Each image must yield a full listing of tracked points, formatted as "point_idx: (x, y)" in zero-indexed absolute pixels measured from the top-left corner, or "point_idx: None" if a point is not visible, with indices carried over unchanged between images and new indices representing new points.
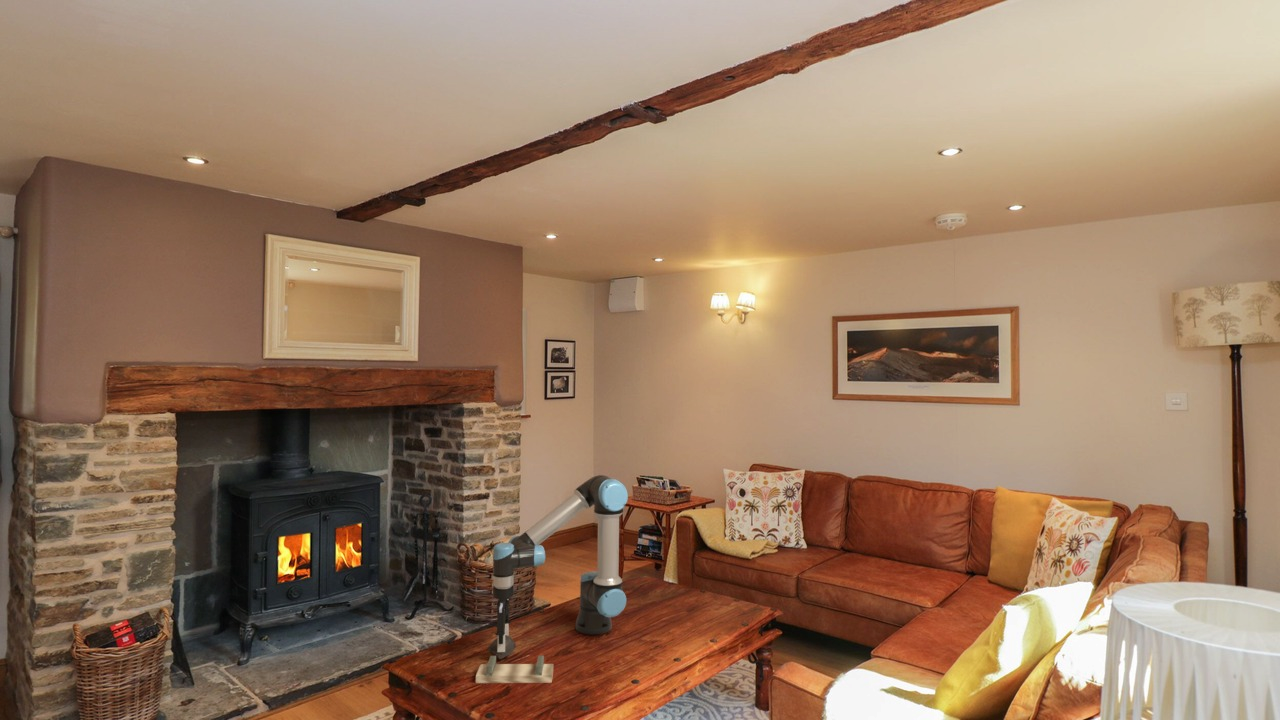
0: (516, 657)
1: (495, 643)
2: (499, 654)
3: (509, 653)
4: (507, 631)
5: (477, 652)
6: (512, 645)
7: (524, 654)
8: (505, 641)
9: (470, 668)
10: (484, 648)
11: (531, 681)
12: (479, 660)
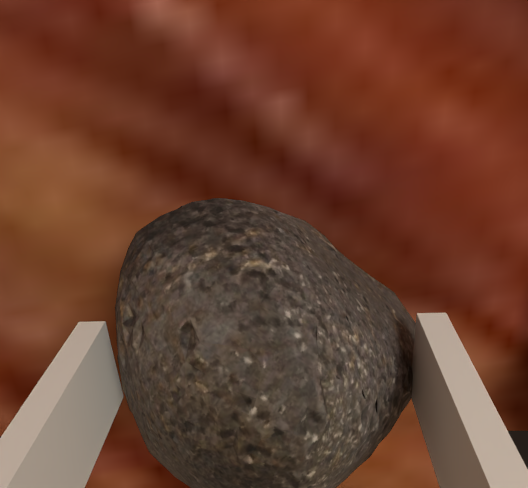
0: (239, 145)
1: (342, 481)
2: None
3: (323, 241)
4: (43, 441)
5: (169, 479)
6: (294, 252)
7: (147, 61)
8: (352, 392)
9: None
10: None
11: None
12: None
